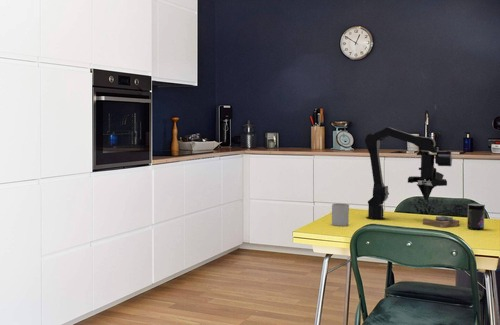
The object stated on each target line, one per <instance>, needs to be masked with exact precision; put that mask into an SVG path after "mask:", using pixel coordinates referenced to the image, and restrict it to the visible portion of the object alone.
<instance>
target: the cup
mask: <svg viewBox="0 0 500 325" xmlns="http://www.w3.org/2000/svg"><path fill="white" fill-rule="evenodd" d="M349 211H350V204H348V203H332V204H331V225H332V226H334V227H348V226H349V223H350V221H349V217H350V216H349V215H350V212H349Z"/></svg>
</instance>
